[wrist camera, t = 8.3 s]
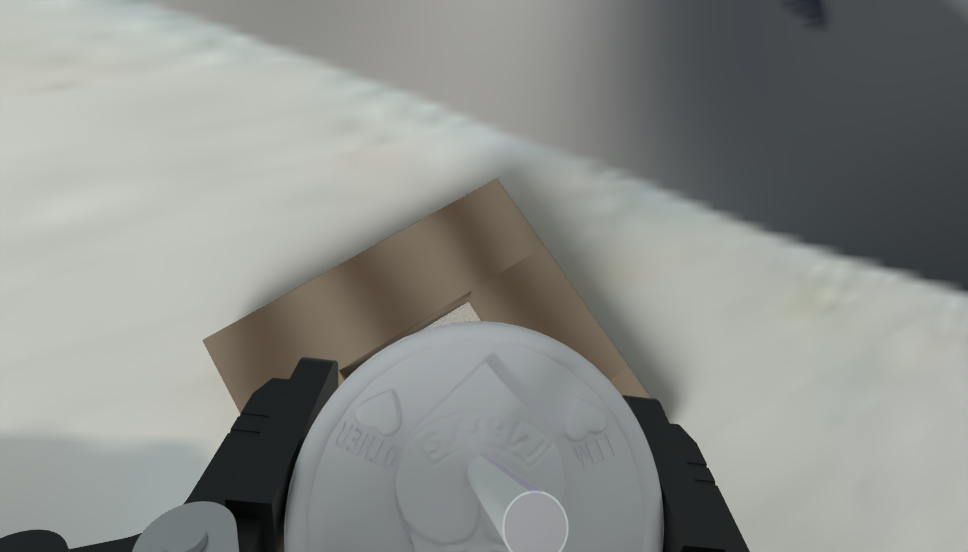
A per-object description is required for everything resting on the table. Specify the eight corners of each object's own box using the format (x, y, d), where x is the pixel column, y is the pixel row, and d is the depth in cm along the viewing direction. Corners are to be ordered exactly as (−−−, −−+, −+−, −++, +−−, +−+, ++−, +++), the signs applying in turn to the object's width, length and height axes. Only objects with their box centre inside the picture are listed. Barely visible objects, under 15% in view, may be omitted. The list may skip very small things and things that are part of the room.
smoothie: (543, 372, 18) (841, 248, 5) (544, 564, 17) (1016, 1168, 3) (371, 365, 18) (191, 204, 4) (352, 563, 16) (-51, 1293, 3)
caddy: (491, 197, 35) (497, 178, 32) (662, 444, 31) (685, 447, 28) (224, 347, 30) (202, 340, 27) (387, 657, 27) (382, 686, 24)
